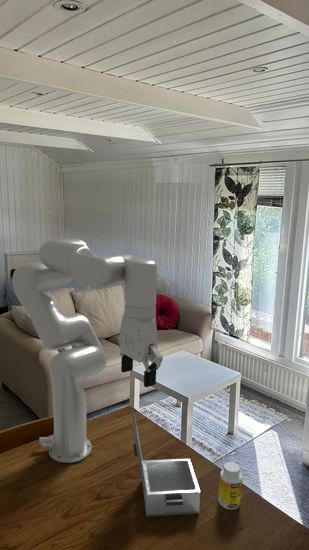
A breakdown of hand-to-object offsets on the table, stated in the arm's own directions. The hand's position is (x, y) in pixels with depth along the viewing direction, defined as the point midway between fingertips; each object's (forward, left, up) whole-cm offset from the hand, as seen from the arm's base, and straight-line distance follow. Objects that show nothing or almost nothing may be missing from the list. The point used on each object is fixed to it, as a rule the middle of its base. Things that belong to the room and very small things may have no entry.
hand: (137, 378), depth 101 cm
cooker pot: (+9, -2, -32) cm, 33 cm away
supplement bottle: (+24, -5, -32) cm, 40 cm away
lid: (+1, -2, -19) cm, 19 cm away
